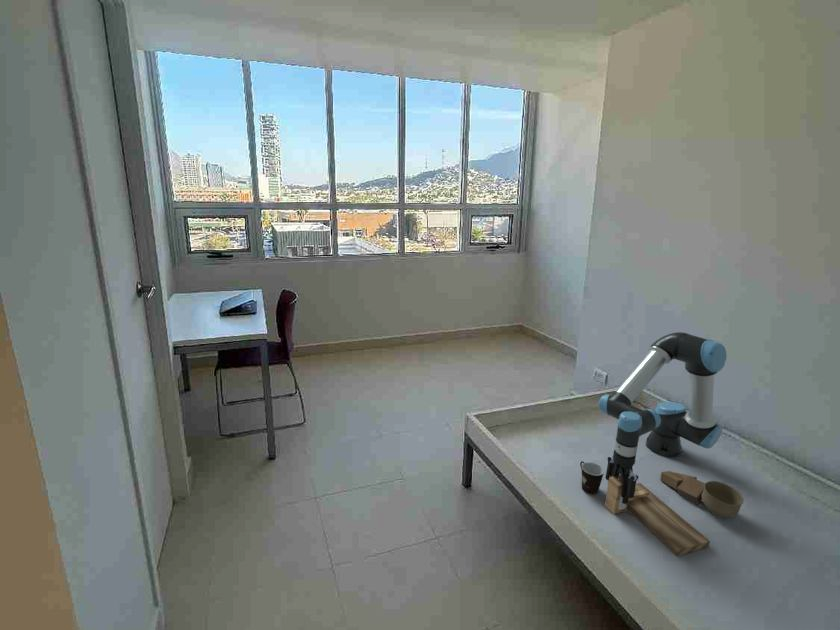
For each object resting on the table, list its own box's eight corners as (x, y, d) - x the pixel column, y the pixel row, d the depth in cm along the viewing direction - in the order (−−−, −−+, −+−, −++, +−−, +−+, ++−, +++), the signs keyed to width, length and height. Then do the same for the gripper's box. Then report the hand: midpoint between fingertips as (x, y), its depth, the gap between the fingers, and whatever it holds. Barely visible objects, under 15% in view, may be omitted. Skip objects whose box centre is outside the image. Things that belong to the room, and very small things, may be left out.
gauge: (640, 496, 175) (646, 467, 171) (650, 504, 170) (656, 475, 166) (604, 505, 170) (609, 475, 166) (613, 514, 165) (618, 484, 161)
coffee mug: (602, 497, 174) (606, 476, 171) (580, 494, 176) (583, 473, 173) (597, 479, 185) (600, 459, 182) (576, 476, 187) (579, 456, 184)
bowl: (726, 530, 158) (732, 507, 155) (692, 508, 169) (696, 486, 166) (745, 518, 164) (751, 496, 161) (710, 497, 175) (715, 476, 172)
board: (639, 487, 180) (640, 482, 179) (708, 546, 151) (710, 540, 150) (611, 494, 176) (612, 489, 175) (677, 556, 147) (678, 550, 146)
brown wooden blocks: (677, 480, 190) (717, 502, 173) (654, 483, 185) (693, 505, 169) (680, 464, 189) (720, 484, 172) (657, 466, 185) (696, 487, 168)
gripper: (600, 440, 168) (592, 490, 175) (634, 468, 152) (625, 522, 159) (616, 437, 171) (608, 486, 177) (652, 464, 154) (641, 518, 161)
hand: (616, 503), depth 168 cm, fingers closed on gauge, 5 cm apart
